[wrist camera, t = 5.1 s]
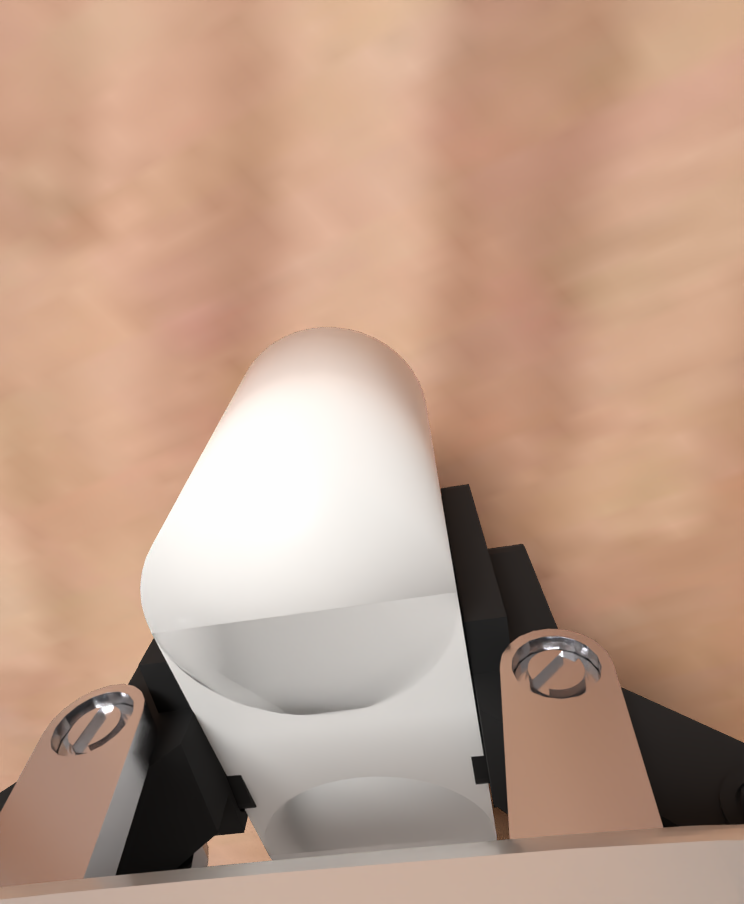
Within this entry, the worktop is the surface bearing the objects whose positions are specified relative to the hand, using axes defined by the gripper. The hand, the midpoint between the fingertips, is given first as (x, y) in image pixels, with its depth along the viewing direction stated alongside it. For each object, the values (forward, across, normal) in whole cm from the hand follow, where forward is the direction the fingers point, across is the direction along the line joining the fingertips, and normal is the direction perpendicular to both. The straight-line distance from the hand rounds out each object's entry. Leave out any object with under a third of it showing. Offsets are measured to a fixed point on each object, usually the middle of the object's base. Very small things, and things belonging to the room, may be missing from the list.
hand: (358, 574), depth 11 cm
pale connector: (+1, 0, 0) cm, 1 cm away
